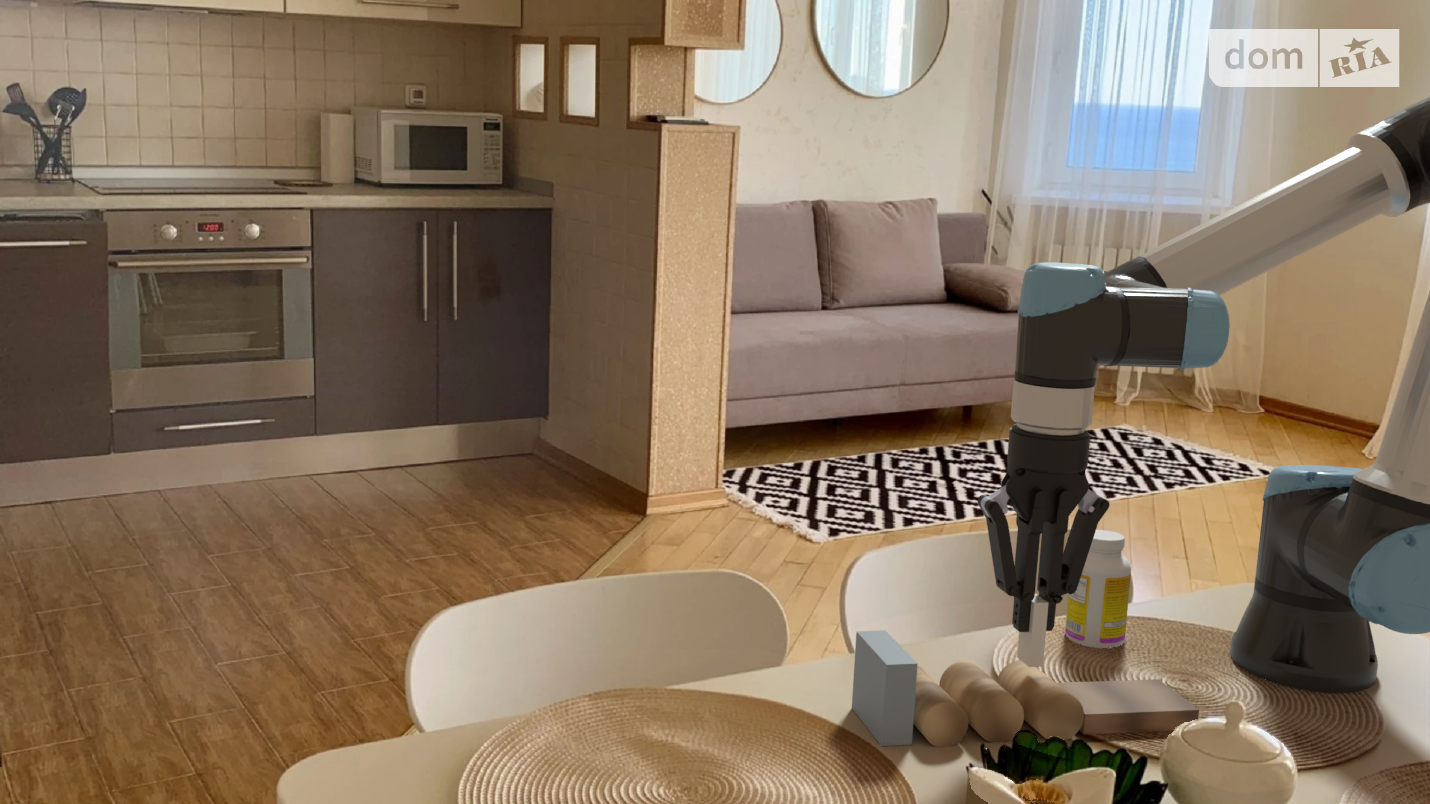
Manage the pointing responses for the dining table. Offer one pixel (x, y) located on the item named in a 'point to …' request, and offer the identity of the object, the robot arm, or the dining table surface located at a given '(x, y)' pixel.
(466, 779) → the dining table surface
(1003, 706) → the roller
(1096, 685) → the walnut board
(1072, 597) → the supplement bottle
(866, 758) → the dining table surface
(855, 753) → the dining table surface
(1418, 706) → the dining table surface
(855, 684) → the block
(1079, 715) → the roller
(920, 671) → the roller
